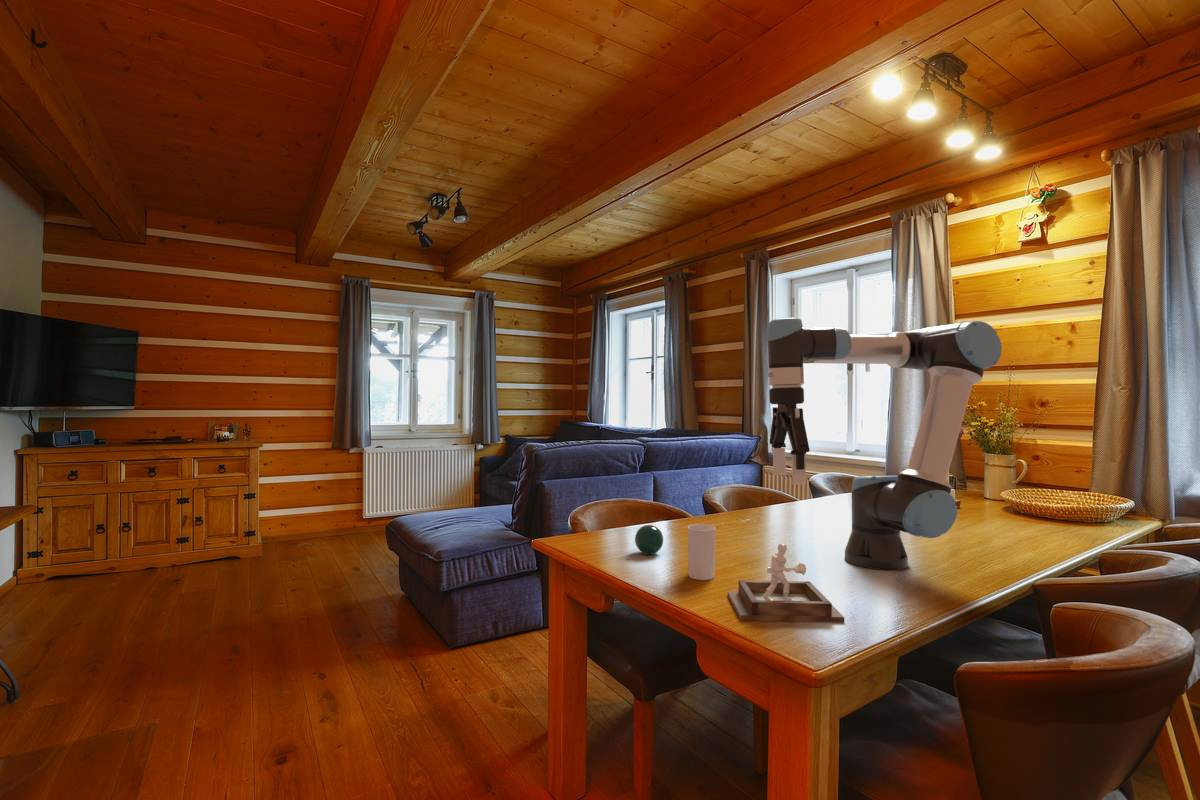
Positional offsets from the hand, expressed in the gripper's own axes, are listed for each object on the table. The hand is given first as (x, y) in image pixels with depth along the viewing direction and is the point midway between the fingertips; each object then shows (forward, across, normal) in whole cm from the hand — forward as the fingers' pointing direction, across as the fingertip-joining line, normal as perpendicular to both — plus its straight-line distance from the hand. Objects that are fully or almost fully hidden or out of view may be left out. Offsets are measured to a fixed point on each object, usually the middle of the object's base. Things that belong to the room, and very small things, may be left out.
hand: (788, 479), depth 130 cm
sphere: (+24, -29, -30) cm, 49 cm away
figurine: (+24, +12, -6) cm, 27 cm away
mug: (+25, -10, -19) cm, 33 cm away
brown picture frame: (+25, +12, -6) cm, 28 cm away
